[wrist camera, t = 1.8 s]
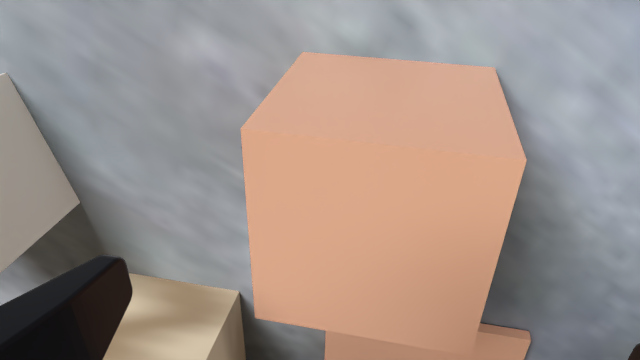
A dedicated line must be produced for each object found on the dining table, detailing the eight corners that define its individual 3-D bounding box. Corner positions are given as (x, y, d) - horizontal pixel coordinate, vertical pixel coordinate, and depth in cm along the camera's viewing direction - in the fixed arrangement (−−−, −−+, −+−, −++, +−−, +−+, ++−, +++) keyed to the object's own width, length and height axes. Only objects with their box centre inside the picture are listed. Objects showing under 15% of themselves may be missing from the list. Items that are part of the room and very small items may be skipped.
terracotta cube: (494, 66, 12) (526, 160, 8) (459, 223, 15) (470, 356, 10) (303, 51, 13) (240, 128, 9) (303, 202, 15) (254, 317, 11)
